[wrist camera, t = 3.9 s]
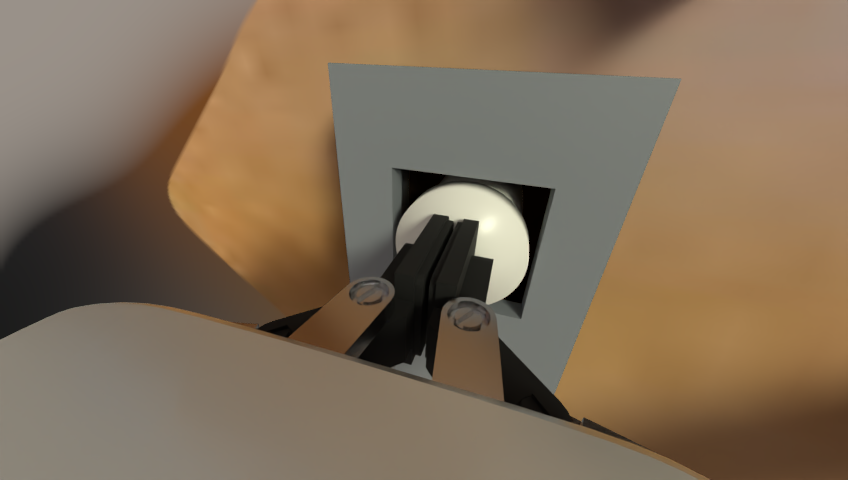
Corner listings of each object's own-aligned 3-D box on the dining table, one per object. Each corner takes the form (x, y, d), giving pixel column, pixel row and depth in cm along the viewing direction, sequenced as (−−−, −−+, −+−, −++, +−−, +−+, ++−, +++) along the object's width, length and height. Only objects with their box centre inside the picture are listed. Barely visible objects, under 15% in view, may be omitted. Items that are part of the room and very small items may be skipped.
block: (621, 75, 13) (681, 78, 8) (509, 429, 25) (504, 517, 20) (395, 65, 15) (327, 63, 10) (397, 393, 28) (368, 464, 23)
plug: (539, 156, 15) (544, 201, 10) (519, 246, 17) (514, 319, 12) (438, 145, 16) (394, 180, 11) (433, 231, 18) (396, 291, 13)
